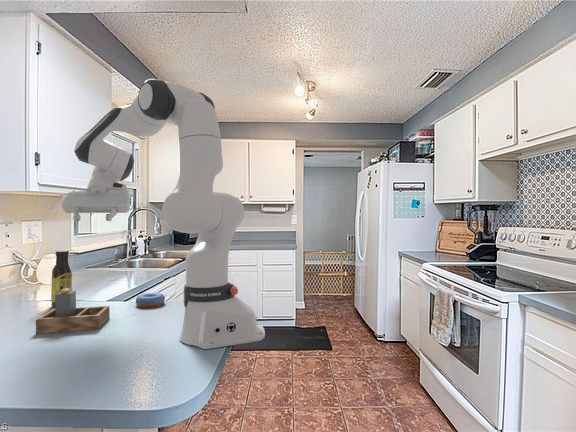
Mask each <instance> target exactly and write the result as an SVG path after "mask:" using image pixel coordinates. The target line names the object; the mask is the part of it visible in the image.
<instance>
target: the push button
mask: <svg viewBox="0 0 576 432" xmlns="http://www.w3.org/2000/svg"><path fill="white" fill-rule="evenodd" d="M76 298H77V294H76V290H72V291H70V289H69V288H66V289H61V292H59V293H57V294H55V307H54V309H55V317H69V316H76V308H77V299H76Z"/></svg>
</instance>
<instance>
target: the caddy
mask: <svg viewBox="0 0 576 432" xmlns="http://www.w3.org/2000/svg"><path fill="white" fill-rule="evenodd" d="M110 309H111V308H110V305H103V306H102V305H101V306H99V305H98V306H85V307H76V316H69V317H55V308H53V309H51V310H49V311H48V312H46V313H44V314H42V315H40V316H39V317H38V318H36V319H35V335H37V334H39V333H42V334H51V333H50V332H56V333H66V332H68V333H70V332H83V331H95V330H96V331H97V330H100V329H101V328H102V327H103V326H104V325H105V324H106V323H107V321H109V320H110ZM39 335H40V334H39Z"/></svg>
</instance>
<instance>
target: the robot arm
mask: <svg viewBox="0 0 576 432" xmlns="http://www.w3.org/2000/svg"><path fill="white" fill-rule="evenodd" d="M167 123H168V124H172V125H174V126H177V129H178V143H179V144H178V145H179V160H180V161H179V162H180V165H179V166H180V167H179V168H180V170H179V175H178V176H179V177H178V180H177V183H176V185H175V187H174V189H173V190H172V192H171V193H170V194H169V195H167V196H166V197H165V200H164V202H163V204H162V208H161V214H162V215H161V217H162V219H163V222H164V224H165V225H166V227H167V228H168V229H170V230H172V231H176V232H179V233H185V234H198V236H197V238H196V242H195V244H194V245H193V247H192V248H191V249H190V250H188V252H187V254H186V256H185V284H184V286H183V305H184V314H183V316H184V317H183V323H182V328H181V332H180V336H179V340H180V341H181V343H183V344H186V345H190V346H193V347H194V346H195V347H198V348H200V349H202V350H210V349H217V348H222V347H228V346H235V345H236V346H237V345H240V344H242V345H243V344H248V343H253V342H260V341H263V339H264V338H266V337H265V336H266V332H265V328H264V326H263V325H262V324H261V323H259V322H257V317H256V313H255V311H254V310H253V308H252V307H251V306H250V305H248V304H247V303H245V302H244V301H242V300H241V299H240V298H238V297H237V295H238V293H239V290H238V287H237V286H236V285H235V284H233V283H231V282H229V255H230V254H229V253H230V248H231V244H232V241H233V238H234V235H235V233H236V230H237V229H238V227H239V226H240V225H241V224H242V222H243V220H244V218H245V206H244V204H243V202H242V201H241V200H240V198H238V197H237V196H234V195H232V194H230V193H226V192H217V191H214V190H213V189H214V182H215V178H216V176H217V175H219V174H220V173H221V172H222V170H223V167H224V159H223V149H222V140H221V139H222V137H221V133H220V131H221V130H220V126H219V121H218V116H217V112H216V111H215V104H214V101H213V100H212V98H210V97H209V96H208V95H207V94H204V93H202V92H200V91H199V92H198V91H195V90H194V89H191V88H189V87H186V86H184V85H181V84H178V83H174V82H169V81H164V80H163V79H158V78H157V79H156V78H150V79H149V78H148V79H147V80H145V81H144V82H143V83H142V85H140V88H139V91H138V94H137V95H136V97H134V100H133V101H132V102H131V103H130V104H128V105H125V106H115V107H114V108H112V109H111V110H110V111H108V112H107V113H106V114H105V115H104V116H103V117H102V118H101V119H100V120H99V121H98V122H97V123H96V124H95V125H94V126H93V127H92V128H91V129H89V130H88V132H86V133H85V134H83V135H82V136H81V137H80V138H79V139H78V140H77V142H76V143H75V145H74V149H73V152H74V154H75V157H76V158H77V159H78V161H79V162H82V163H85V164H88V165H91V166H93V167H94V169H93V171H92V174H91V178H90V180H89V182H88V185H87V187H86V190H72V191H70V192H67V193H66V195H65V197H64V198H63V200H62V202H61V207H62V208H61V209H62V210H63V212H64V213H65V214H73V217H72V218H73V221H74V222H80V221H81V215H80V214H100V213H101V214H105V215H106V216H105V221H106V222H113V221H112V220H113V218H114V217H115V216H116V215H117V214H127V213H128V212H130V209H131V201H130V196H129V195H130V194H129V189H128V187H127V185H126V184H123V183H120V182H122V181H123V180H126V179H127V178H128V177H129V176H130V175H131V172H132V170H133V167H134V164H135V159H134V156H133V154H132V153H131V152H130V151H128V150H126V149H125V148H122V147H121V146H118V145H116V144H113V143H112V142H109V141H108V140H105V138H106V137H107V136H108V135H109V134H110V133H112V132H119V133H120V132H121V133H127V134H129V135H134V136H137V137H142V138H143V137H144V138H147V137H151V136H152V137H153V136H155V135H156V134H157V133H159V132H160V131H161V130H162V128H163V127H164V126H165V125H166V124H167Z"/></svg>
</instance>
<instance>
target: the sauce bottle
mask: <svg viewBox="0 0 576 432" xmlns="http://www.w3.org/2000/svg"><path fill="white" fill-rule="evenodd" d="M69 252H70V251H69V250H58V251H55V257H56V258H55V259H56V260H55V265H54V267H53V268H52V271H51V287H50V288H51V289H50V290H51V295H50V297H51V298H50V301H51V307H52V308H55V294H57V293H59V292H61V289H66V288H69V289H70V291H73V290H72V289H73V288H72V287H73V286H72V285H73V272H72V269H71V267H70V264H69Z"/></svg>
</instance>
